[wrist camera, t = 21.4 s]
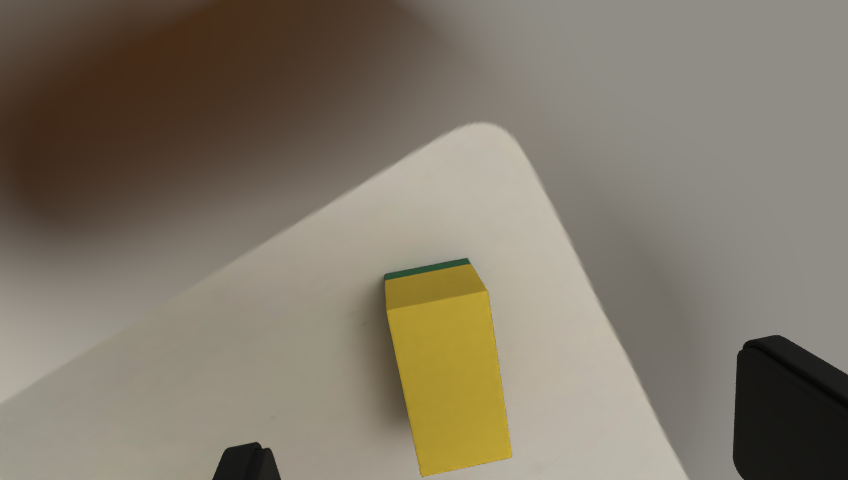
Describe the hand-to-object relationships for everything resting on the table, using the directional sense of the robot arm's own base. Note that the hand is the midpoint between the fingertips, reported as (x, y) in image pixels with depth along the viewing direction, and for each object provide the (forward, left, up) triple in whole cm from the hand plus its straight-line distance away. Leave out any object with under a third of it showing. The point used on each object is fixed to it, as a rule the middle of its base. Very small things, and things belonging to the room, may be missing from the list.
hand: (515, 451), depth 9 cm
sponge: (+5, -3, -17) cm, 18 cm away
